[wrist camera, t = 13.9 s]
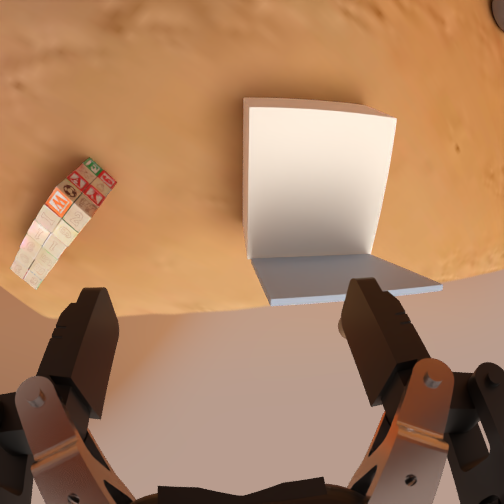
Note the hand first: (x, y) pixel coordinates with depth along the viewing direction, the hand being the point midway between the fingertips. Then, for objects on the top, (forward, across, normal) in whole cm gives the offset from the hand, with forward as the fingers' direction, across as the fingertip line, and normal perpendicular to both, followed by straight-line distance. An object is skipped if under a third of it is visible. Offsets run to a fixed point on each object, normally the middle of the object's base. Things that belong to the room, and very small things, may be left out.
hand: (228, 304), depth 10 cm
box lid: (+19, -12, +14) cm, 27 cm away
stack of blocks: (+38, +26, +14) cm, 49 cm away
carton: (+38, -12, +8) cm, 41 cm away
